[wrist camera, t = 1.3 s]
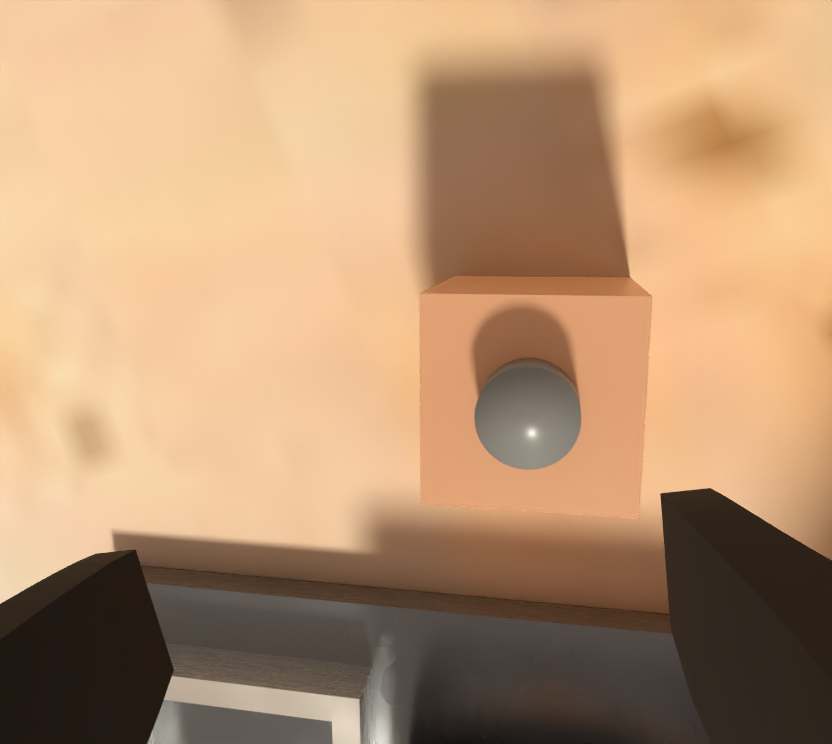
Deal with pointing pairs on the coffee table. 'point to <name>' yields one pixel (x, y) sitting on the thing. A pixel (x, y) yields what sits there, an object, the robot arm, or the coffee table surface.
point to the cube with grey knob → (534, 393)
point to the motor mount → (408, 667)
